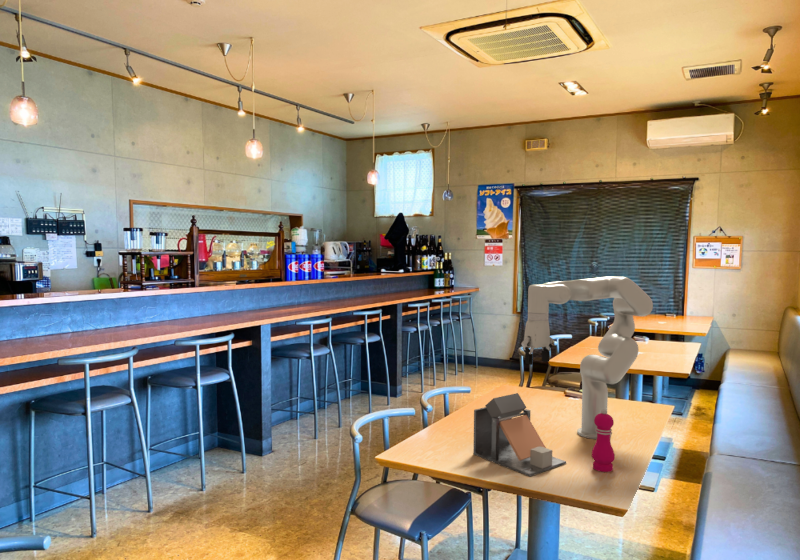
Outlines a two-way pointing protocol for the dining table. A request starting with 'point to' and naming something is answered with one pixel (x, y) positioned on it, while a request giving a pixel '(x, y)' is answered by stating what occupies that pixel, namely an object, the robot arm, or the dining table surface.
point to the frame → (502, 444)
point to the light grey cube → (541, 457)
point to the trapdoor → (515, 424)
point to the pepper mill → (603, 443)
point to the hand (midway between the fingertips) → (537, 362)
